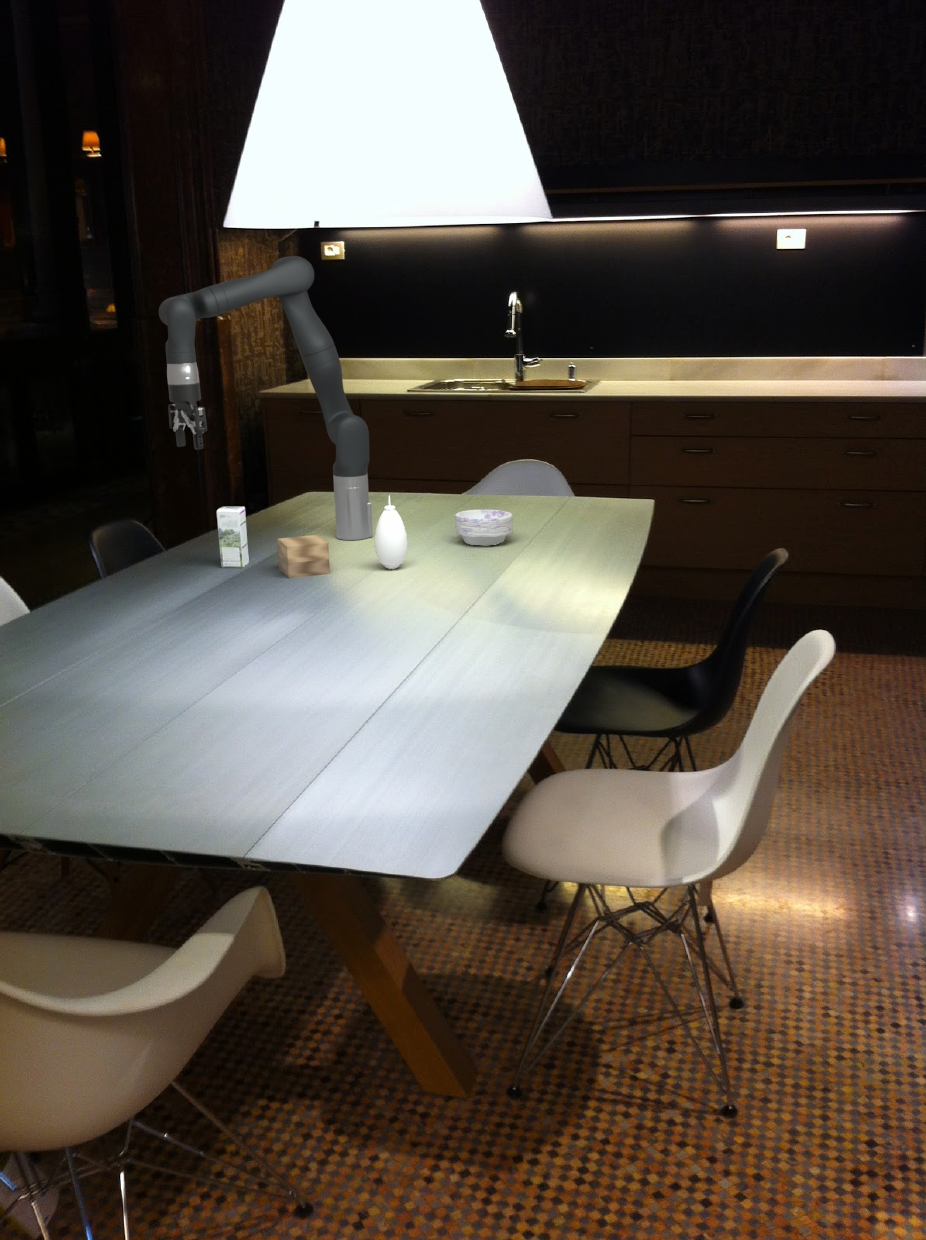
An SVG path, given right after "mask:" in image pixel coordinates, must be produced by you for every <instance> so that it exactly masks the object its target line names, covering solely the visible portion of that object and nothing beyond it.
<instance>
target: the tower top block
mask: <svg viewBox="0 0 926 1240" xmlns="http://www.w3.org/2000/svg"><path fill="white" fill-rule="evenodd" d="M329 547H330V545H329V541H327V540H325V539H324V538H323V537H322V536H320V535H318V534H311V535H301V536H300V535H299V536H292V537H282V538H280V537H279V538H277V550H278V555H279V556H280V557H281V558H283V559H284V560H285V561H286V562H287V563H297V562H306V561H316V560H325V559H329V560H330V551H329V550H330V548H329Z"/></svg>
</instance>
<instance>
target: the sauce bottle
mask: <svg viewBox="0 0 926 1240" xmlns="http://www.w3.org/2000/svg"><path fill="white" fill-rule="evenodd" d="M391 504H392V503H391V496H390V495H388V505H385V506H384V508H383V512H382V513H381V514H380V516H379V518H378V521H377V524H376V527H375V533H374V534H375V535H374V549H375V554H376V557H377V559H378V561H379V562H380V564H381V565H382V566H384V567H385V568H386V569H388V570H391V569H392V570H396V569H397V568H399V567H400V565H402V564H403V562H405V559H406V556H407V552H408V535H407V530H406V527H405V525H404V522H403V519H402V517H401V515H400V514H399V512H398V511H397V510H396V506H395V505H393V504H392V505H391Z"/></svg>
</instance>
